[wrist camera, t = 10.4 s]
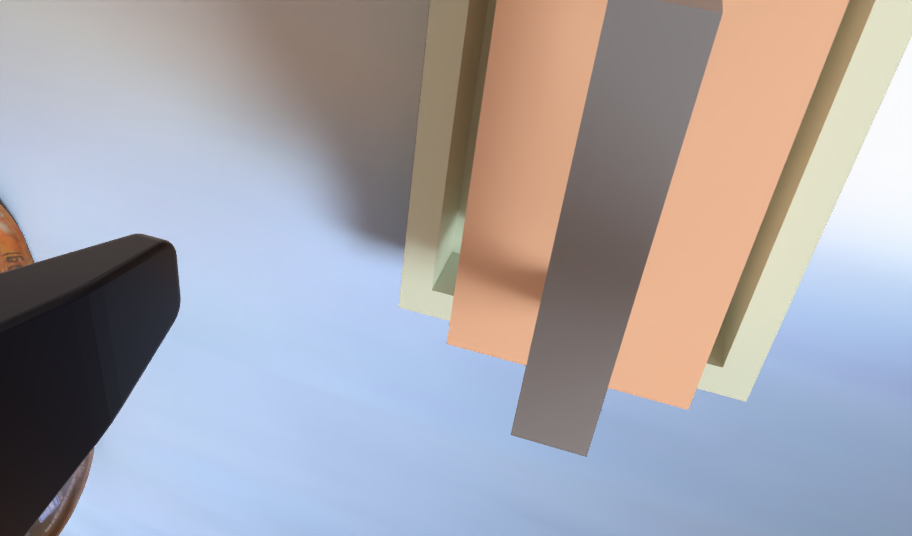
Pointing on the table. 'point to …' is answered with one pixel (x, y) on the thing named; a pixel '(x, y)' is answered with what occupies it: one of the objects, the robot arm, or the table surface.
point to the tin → (6, 251)
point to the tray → (785, 222)
